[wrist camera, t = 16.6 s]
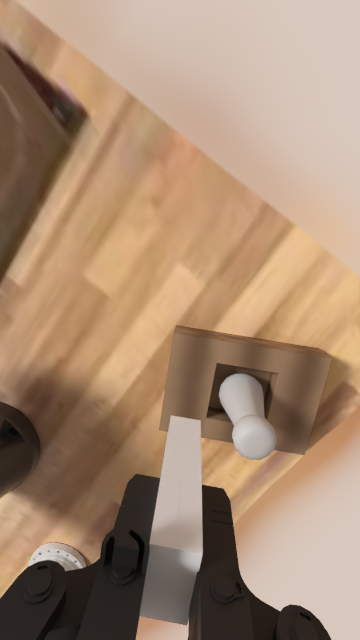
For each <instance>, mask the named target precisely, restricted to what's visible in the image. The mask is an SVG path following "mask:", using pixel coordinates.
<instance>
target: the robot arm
mask: <svg viewBox="0 0 360 640" xmlns="http://www.w3.org/2000/svg"><path fill="white" fill-rule="evenodd" d="M39 455H40V444H39V439H38V436H37V434H36V431H35V429H34V428H33V426H32V425H31V423H30V422H29V421H28V420H27V418H26V417H25V416H24V415H22V414H21V413H20V412H19V411H17V410H16V409H14V408H12V407H11V406H9V405H6V404H4V403H1V402H0V498H1V497H3V496H4V495H5V494H7V493H8V492H9V491H12V490H13V489H15V488H16V487H18V486H19V485H21V484H22V483H23V482H24V481H25V480H26V479H27V477H28V476H29V475H30V473H31V472H32V471H33V469H34V468H35V466H36V465H37V462H38V460H39ZM139 616H143V617H147V618H153V619H158V620H163V621H168V622H173V623H179V624H183V625H187V623H188V618H189V636H188V640H331V638H330V636H329V634H328V632H327V631H326V629H325V628H324V626H323V625H322V623H321V622H320V621H319V620H318V619H317V618H316V617H315V616H314V615H313V614H312V613H311V612H310V611H308V610H306V609H305V608H303V607H301V606H297V605H289V606H286V607H284V608H283V609H282V611H281V612H280V611H278V610H276V609H275V608H273V607H271V606H270V605H268V604H266V603H264V602H262V601H261V600H260V599H258V598H257V597H255V595H254V594H253V593H252V592H251V591H250V590H249V589H248V588H247V586H246V585H245V583H244V581H243V579H242V577H241V575H240V571H239V566H238V558H237V551H236V543H235V536H234V527H233V520H232V512H231V504H230V500H229V498H228V496H227V494H226V492H225V491H224V489H222V488H217V487H211V486H206V485H202V471H201V420H195V419H190V418H184V417H178V416H172V415H171V418H170V424H169V430H168V436H167V442H166V448H165V453H164V459H163V465H162V471H161V477H160V478H156V477H151V476H145V475H139V474H135V475H134V477H133V478H132V479H131V480H130V481H129V482H128V484H127V487H126V490H125V493H124V497H123V500H122V503H121V507H120V510H119V513H118V516H117V519H116V523H115V526H114V529H113V530H111V531H110V532H109V533H108V534H107V535H106V537H105V538H104V540H103V542H102V547H101V556H100V559H99V560H98V561H96V562H95V563H93V564H91V565H90V566H87V567H84V568H80V569H75V570H69V571H65V569H64V567H63V566H62V565H61V564H59V563H58V562H56V561H52V560H44V561H38V562H36V563H35V564H33V565H31V566H29V567H27V568H26V569H25V570H24V571H23V572H22V573H21V574H20V575H19V576H18V577H17V579H16V580H15V581H14V582H13V584H12V585H11V586H10V587H9V588H8V590H7V591H6V592H5V593H4V595H3V596H2V597H1V598H0V640H135V639H136V633H137V627H138V621H139Z"/></svg>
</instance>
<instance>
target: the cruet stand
mask: <svg viewBox="0 0 360 640" xmlns="http://www.w3.org/2000/svg"><path fill="white" fill-rule="evenodd" d="M331 362H332V358H331V357H329V356H328V355H327V354H325V353H324V352H323V351H322V350H320V349H319V348H312V347H306V346H300V345H294V344H288V343H282V342H275V341H269V340H263V339H257V338H251V337H245V336H238V335H232V334H226V333H220V332H214V331H207V330H201V329H195V328H189V327H183V326H177V325H176V328H175V331H174V335H173V342H172V348H171V355H170V362H169V368H168V375H167V381H166V388H165V394H164V401H163V408H162V414H161V421H160V427H159V430H162V431H167V432H168V430H169V424H170V418H171V415H172V416H178V417H184V418H190V419H195V420H201V437H202V438H208V439H214V440H220V441H226V442H231V443H234V442H233V438H232V432H233V428H234V425H233V423H232V421H231V420H230V418H229V416H228V414H227V413H226V411H225V409H224V408H223V406H222V404H221V401H220V397H219V391H220V387H221V384H222V383H223V382H224V380H225V379H226V378H227V377H228V376H229V375H233V374H236V373H246V374H248V375H250V376H253V377H254V378H255V379H256V380H257V381H258V382H259V383H260V384H261V385H262V390H263V396H264V416H265V419H266V420H267V421H268V422H269V423H270V424H271V425H272V426H273V428H274V431H275V436H276V445H275V449H274V450H278V451H284V452H290V453H296V454H301V455H305V451H306V448H307V444H308V441H309V438H310V434H311V431H312V427H313V424H314V420H315V417H316V413H317V410H318V406H319V403H320V400H321V396H322V393H323V389H324V386H325V382H326V379H327V375H328V372H329V368H330V365H331Z"/></svg>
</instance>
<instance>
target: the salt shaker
mask: <svg viewBox="0 0 360 640" xmlns="http://www.w3.org/2000/svg"><path fill="white" fill-rule="evenodd" d="M219 397H220V401H221V404H222V406H223V408H224V409H225V411H226V413H227V414H228V416H229V418H230V420H231V421H232V423H233V425H234V428H233V432H232V438H233V442H234V446H235V448H236V450H237V451H238V452H239V453H240V454H241V455H242V456H243V457H246V458H248V459H256V460H260V459H262V458H265V457H267V456H269V455H270V454H271V453H272V452H273V451H274V449H275V445H276V436H275V431H274V428H273V426H272V425H271V424H270V423H269V422H268V421H267V420H266V419H265V416H264V396H263V390H262V385H261V384H260V383H259V382H258V381H257V380H256V379H255V378H254V377H253V376H250V375H248V374H246V373H236V374H233V375H229V376H228V377H227V378H226V379H225V380H224V382H223V383H222V384H221V387H220V391H219Z"/></svg>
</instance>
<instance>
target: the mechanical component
mask: <svg viewBox="0 0 360 640" xmlns="http://www.w3.org/2000/svg"><path fill="white" fill-rule="evenodd" d="M44 560H52V561H56V562H58V563H59V564H61V565H62V566H63V567H64V569H65V571H69V570H75V569H80V568H84V567H86V563H85V561H84V559H83V557H82V556H81V555H80V553H79V552H78V551H77V550H75V549H74V548H72V547H70V546H68V545H66V544H61V543H48V544H45V545H42V546H40V547H39V548H37V550H36V551H35V552H34V554H33V555H32V557H31V559H30V561H29V565H28V567H29V566H31V565H33V564H35V563H36V562H38V561H44Z"/></svg>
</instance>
